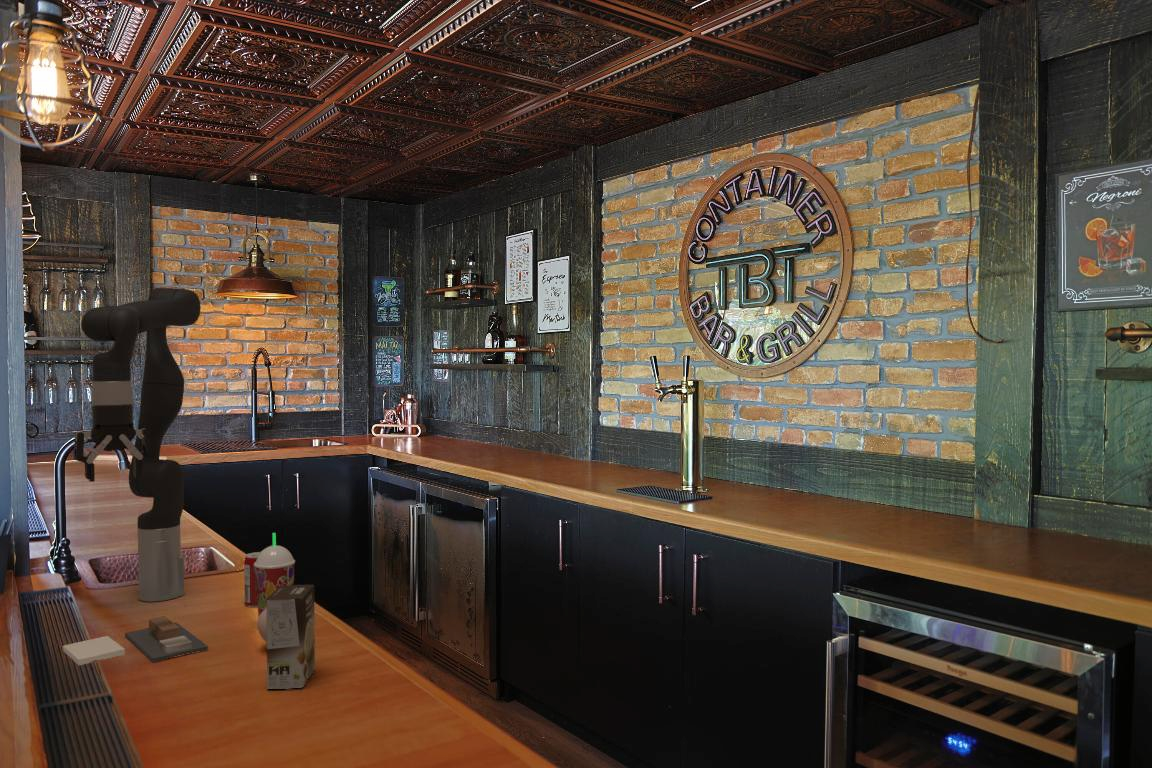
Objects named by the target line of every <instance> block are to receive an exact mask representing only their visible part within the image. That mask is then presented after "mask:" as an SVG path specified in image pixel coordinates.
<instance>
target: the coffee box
mask: <svg viewBox="0 0 1152 768" xmlns="http://www.w3.org/2000/svg"><path fill="white" fill-rule="evenodd" d="M266 608H267V642H266V681H267V684H266V685H267V686H266V687H267V689H286V690H290V689H289V688H300V687H304V688H305V686H306V685H307V683H308V682H309V680H310V678H311V677H312V675H313V674H314V672H315V671H316V649H315V648H316V646H315V645H316V640H315V637H316V634H315V628H316V625H315V623H316V622H315V621H316V620H315V615H316V614H315V584H294V585H291V586H280V587H279V588H278V589H277V590H276V591H274V592H273V593H272V594H271V595H270V596H269V597H268V598H267V599H266ZM314 670H315V671H314ZM313 671H314V672H313ZM312 673H313V674H312ZM311 674H312V675H311ZM310 676H311V677H310ZM309 677H310V678H309ZM308 679H309V680H308ZM306 682H307V683H306ZM305 684H306V685H305ZM304 685H305V686H304ZM267 689H266V690H267Z"/></svg>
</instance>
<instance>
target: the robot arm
mask: <svg viewBox="0 0 1152 768" xmlns="http://www.w3.org/2000/svg"><path fill="white" fill-rule="evenodd" d="M200 314H201V301H200V298H199V295H198V294H197V293H196V292H195V291H193V290H190V289H187V288H173V287H155V288H153V289H152V290H151V291H150V293H149V295H148V298H147V300H137V301H133V302H132V301H131V302H128V303H127V302H126V303H124V304H120V305H119V304H118V305H108V306H97V307H96V306H95V307H93V308H89V309H88V310H87V311H85V313H84V314H83V316H82V318H81V322H80V323H81V324H80V325H81V326H80V327H81V330H82V332H83V333H84V335H85V336H86V337H87V338H88V339H90V340H91V341H96V342H114V345H113V346H112V348H111V350H109V351H105V352H101V353H97V354H95V355H94V356H93V357H92V358H93V359H92V386H91V387H92V389H91V412H92V413H91V414H92V415H91V416H92V423H91V424H92V429H91V431H90V432H87V431H86V432H82V431H76V432H75V434H74V448H73V460H74V461H77V462H81V463H83V464H84V477H85V479H87V480H88V482H89V483H90V482H91V483H92V482H95V481H96V479H95V463H94V461H95V460H96V458H98V456H99V455H100V454H101V453H102V452H103V451H104V452H112V451H124V450H126V451H127V452H129V454H130V455H131V456H132V457H131V460H130V467H129V472H128V485H129V489H130V491H131V492H132V494H133V495H135V496H136V497H140V498H151V499H152V498H153V499H152V507H151V509H150V510H148V511H146V512H143V513H141V514H139V515H138V517H137V523H136V525H137V556H138V558H137V561H138V600H139V601H142V602H152V603H153V602H162V601H168V600H172V599H176V598H178V597H182V596H184V595H185V560H184V559H185V558H184V555H182V552H181V551H182V549H181V548H182V544H181V543H182V542H181V541H182V540H181V537H182V536H181V517H182V515H183V510H184V496H185V495H184V494H185V493H184V492H185V475H184V470H183V467H182V465H181V464H180V462H178V461H176V460H173V459H163V458H162V459H160V456H161V455H160V454H161V448H162V442H163V440H164V437H165V435H166V433H167V431H168V430H169V429H170V427H171V426H172V424H174V423H173V422H174V421H175V420H176V418H177V416H178V415H179V413H180V411H181V409H182V406H183V399H184V393H185V392H184V391H185V378H184V375H183V372H182V370H181V369H180V366H179V365H178V362H177V361H176V359H175V358H174V356H173V354H172V352H171V350H170V348H169V344H168V340H167V327H169V326H170V327H171V326H173V327H175V326H176V327H177V326H178V327H188V326H192V325H193V324H195V323H197V322H198V320H199V318H200ZM142 333H146V334H145V335H146V343H145V346H146V347H145V359H144V367H143V368H144V369H143V374H142V383H141V390H140V391H141V393H140V402H139V403H140V406H139V414H138V415H139V416H138V422H137V423H138V424H137V428H135V427H134V396H133V395H134V394H133V387H132V369H131V368H132V367H131V365H132V357H133V353H134V349H135V345H136V341H137V339H138V335H139V334H142ZM135 437H136V438H135ZM134 438H135V442H134V444H133V443H132V441H133V440H134ZM89 439H91V440H92V441H93V442H94V445H93V446H92V447H91V448H90V450H89V452H88V453H87V454H86V456H85V455H84V449H85V447H84V446H85V443H86V442H88V440H89Z"/></svg>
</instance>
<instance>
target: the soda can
mask: <svg viewBox="0 0 1152 768" xmlns="http://www.w3.org/2000/svg"><path fill="white" fill-rule="evenodd" d="M260 553H261V551H257V552H256V551H255V552H251V553H250V552H249V553H247V554H245V558H244V563H243V568H244V569H243V570H244V578H243V579H244V604H245V605H246V607H248V606H250V607H249V608H258V606H257V594H256V582H255V570H254V563H255V562H256V560H257V557H258V555H259V554H260Z"/></svg>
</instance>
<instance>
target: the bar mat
mask: <svg viewBox="0 0 1152 768" xmlns="http://www.w3.org/2000/svg"><path fill="white" fill-rule="evenodd" d="M173 623H174V624H175V625H177V626H178V627H179V628H180V636H185V637H186V638H188V639H189V640H190V641H192V648H190V649H185V650H181V651H176V652H172V653H166V652H165V651H163V650H162V649H161V648H160V647H159V642H158V641H157V640H156V639H155V638H154V637H153V636H151V635H150V634H149V627H146V628H141V629H137V630H132V631H127V632H124V637H125V638H126V639H127V640H128V641H129V642H131V644H132V645H133V646H134V647H136V648H137V649H138V650H139V651H140V652H141V653H142V654H143V655H144V656H145V657H146V658H147V659H148V660H150V662H152V663H153V664H154V663H158V662H157V661H159V662H162V661H161V660H163V661H165V660H164V659H167V658H171V657H174V656H178V655H182V654H187V653H192V652H197V651H202V650H207V649H208V650H209V646H208V645H207V644H206V643H205V642H203V641H202V640H200V639H199V638H197V637H196V636H195V635H193V634H192V632H190V631H188V630H187V629H186V628H184V626H182V625H181V624H180V623H178V622H173ZM208 650H207V651H208ZM202 652H203V651H202ZM167 660H168V659H167Z"/></svg>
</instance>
